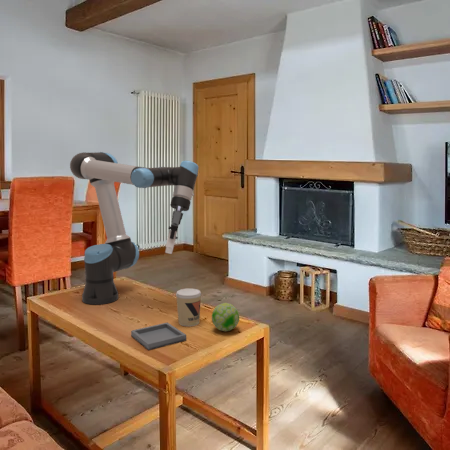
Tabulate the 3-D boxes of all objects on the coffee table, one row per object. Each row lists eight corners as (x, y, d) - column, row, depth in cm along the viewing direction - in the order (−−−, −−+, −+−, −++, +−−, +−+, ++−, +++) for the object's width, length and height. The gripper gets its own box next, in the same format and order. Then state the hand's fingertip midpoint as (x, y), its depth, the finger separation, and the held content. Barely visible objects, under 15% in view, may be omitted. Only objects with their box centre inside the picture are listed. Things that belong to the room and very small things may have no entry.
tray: (131, 336, 159) (131, 330, 159) (167, 327, 167) (167, 322, 167) (148, 350, 148) (148, 344, 148) (186, 340, 156) (186, 334, 155)
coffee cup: (188, 329, 166) (188, 297, 164) (171, 323, 172) (170, 292, 170) (206, 322, 172) (206, 291, 171) (189, 316, 179) (188, 286, 177)
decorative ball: (222, 323, 171) (221, 297, 170) (244, 329, 166) (244, 302, 164) (206, 331, 163) (205, 304, 162) (229, 338, 158) (229, 310, 156)
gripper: (193, 192, 170) (179, 247, 165) (188, 209, 194) (177, 257, 189) (173, 187, 169) (159, 242, 164) (171, 204, 193) (159, 253, 188)
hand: (168, 250), depth 176 cm, fingers open, 13 cm apart
